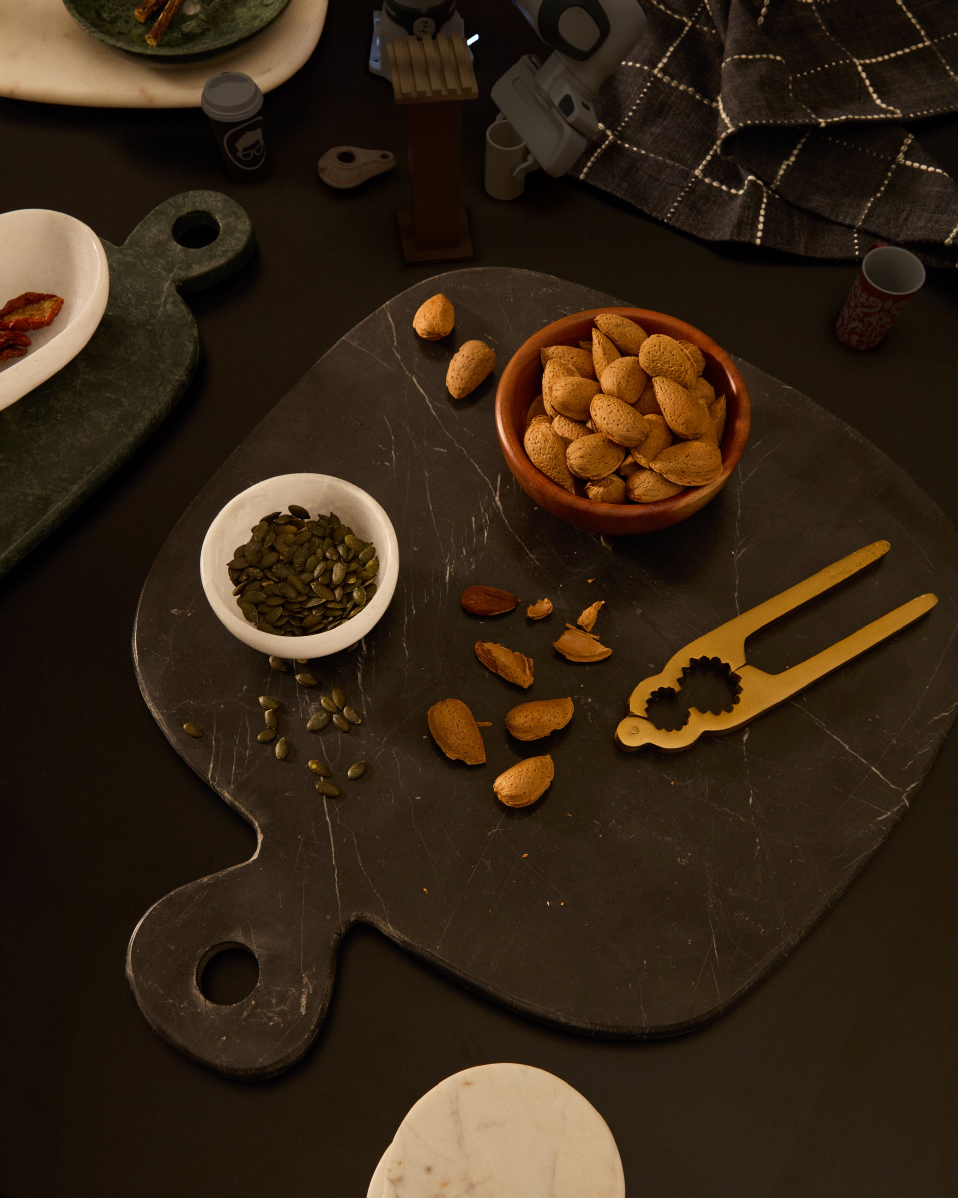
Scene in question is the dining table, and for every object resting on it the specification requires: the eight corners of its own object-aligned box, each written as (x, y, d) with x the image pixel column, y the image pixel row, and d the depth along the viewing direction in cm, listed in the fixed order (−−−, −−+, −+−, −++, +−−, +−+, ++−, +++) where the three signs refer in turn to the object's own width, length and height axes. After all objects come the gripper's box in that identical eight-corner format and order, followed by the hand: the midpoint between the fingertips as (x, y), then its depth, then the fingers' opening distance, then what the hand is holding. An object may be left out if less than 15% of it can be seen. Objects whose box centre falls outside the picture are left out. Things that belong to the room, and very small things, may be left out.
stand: (397, 215, 159) (386, 46, 132) (463, 209, 160) (466, 40, 133) (405, 266, 155) (395, 101, 128) (473, 259, 156) (478, 94, 129)
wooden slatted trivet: (386, 49, 133) (385, 37, 131) (466, 43, 134) (466, 31, 132) (395, 104, 128) (395, 92, 127) (478, 98, 129) (478, 86, 128)
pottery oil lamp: (402, 189, 161) (387, 169, 154) (336, 210, 164) (318, 192, 157) (393, 138, 162) (378, 117, 155) (327, 160, 165) (309, 140, 158)
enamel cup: (481, 172, 164) (483, 121, 155) (520, 169, 164) (524, 117, 155) (487, 201, 161) (489, 151, 152) (527, 198, 162) (532, 147, 152)
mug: (890, 357, 149) (929, 295, 137) (831, 353, 149) (865, 291, 137) (882, 294, 155) (918, 229, 142) (825, 290, 155) (857, 224, 143)
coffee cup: (281, 151, 165) (266, 69, 151) (270, 192, 161) (254, 112, 147) (225, 146, 165) (205, 64, 151) (213, 186, 161) (191, 106, 147)
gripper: (519, 38, 152) (462, 111, 159) (582, 121, 145) (520, 194, 151) (541, 56, 157) (485, 126, 164) (604, 137, 150) (543, 207, 156)
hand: (502, 159), depth 158 cm, fingers closed on enamel cup, 7 cm apart
